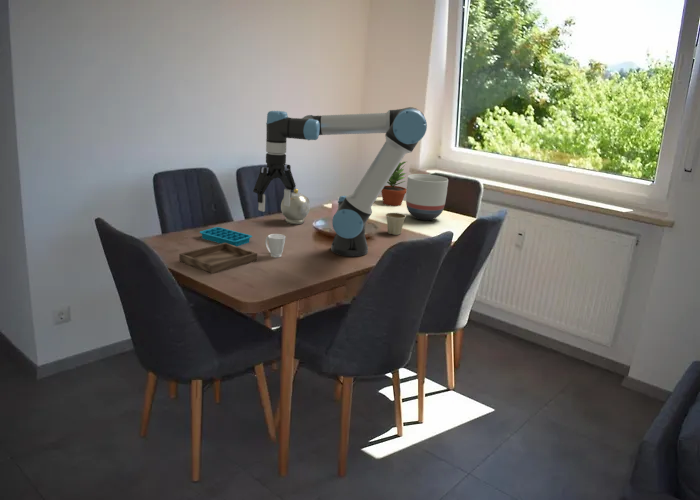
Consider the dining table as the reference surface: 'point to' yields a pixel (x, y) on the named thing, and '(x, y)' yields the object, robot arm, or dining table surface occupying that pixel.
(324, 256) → the dining table surface
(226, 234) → the ice cube tray
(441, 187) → the planter
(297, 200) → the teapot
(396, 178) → the potted plant
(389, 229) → the flower pot
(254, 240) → the dining table surface
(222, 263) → the tray
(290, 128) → the robot arm
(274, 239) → the cup
